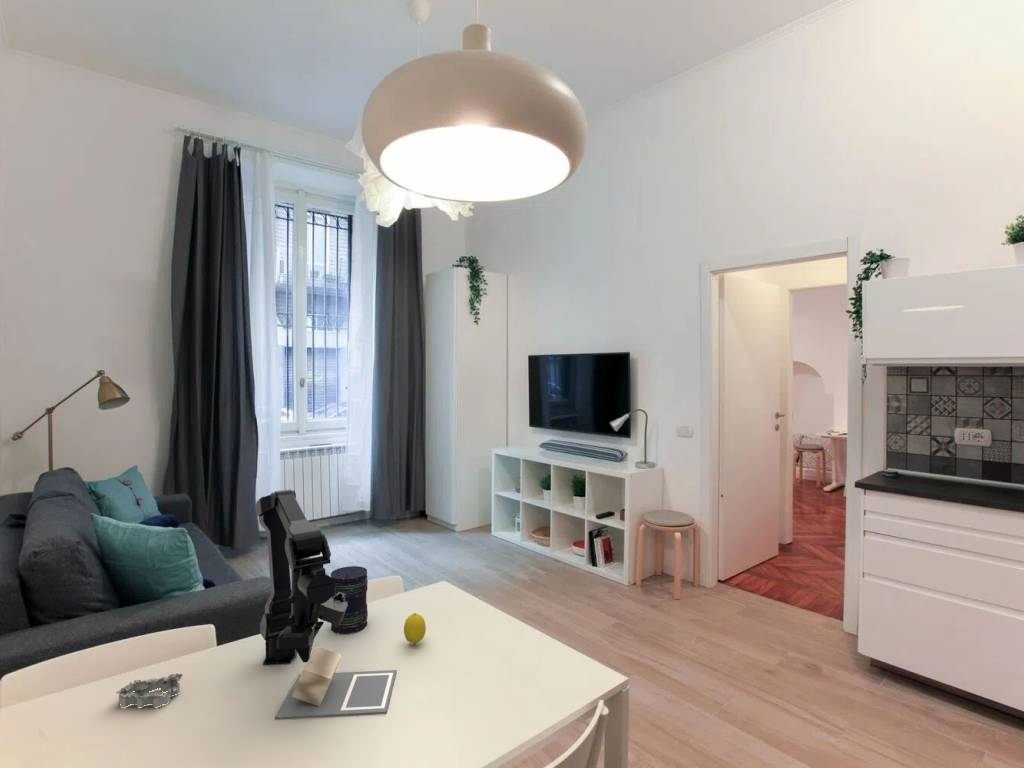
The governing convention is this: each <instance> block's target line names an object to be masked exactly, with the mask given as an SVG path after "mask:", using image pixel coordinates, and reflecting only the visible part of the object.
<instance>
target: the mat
mask: <svg viewBox="0 0 1024 768" xmlns="http://www.w3.org/2000/svg"><path fill="white" fill-rule="evenodd" d="M396 675H397V669H391V670H390V669H388V670H387V669H386V670H384V669H383V670H369V671H368V670H367V671H366V670H365V671H364V670H363V671H343V672H335V673H334V675H333V678H332V680H331V683H330V685H329V687H328V689H327V691H326V694H325V696H324V698H323V700H322V703H321V705H320V706H317V705H314V704H311V703H308V702H305V701H302V700H300V699H297V698H294V697H292V696H293V693H294V691H295V688H296V686H297V683H298V681H299V678H300V676H301V673H299V674H298V676H297V678H296V680H294V683H293V684H292V686H291V688H290V690H289V691H288V694H287V695H286V697H285V698H284V700H283V702H282V704H281V705H280V707H279V709H278V711H277V713H276V714H275V716H274V720H287V719H290V720H291V719H293V720H294V719H307V718H309V719H310V718H311V719H312V718H328V717H343V716H344V717H346V716H347V717H348V716H363V715H364V716H365V715H368V716H369V715H381V714H382V715H383V714H387V712H388V708H389V705H390V701H391V696H392V692H393V688H394V683H395V680H396Z"/></svg>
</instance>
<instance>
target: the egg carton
mask: <svg viewBox="0 0 1024 768" xmlns="http://www.w3.org/2000/svg"><path fill="white" fill-rule="evenodd" d="M182 678H183V674H182V673H171V674H168V677H167V676H162V677H161V678H159V677H158V678H154V677H153V678H150V679H144V680H141V679H134V681H133V682H132V681H130V682H129V683H128V684H126V685H125V686H124V687H121V689H119V690H118V691H115V693H116V694H117V695H118V705H119V704H121V706H120V705H119V706H120V708H121V707H126V706H128V705H130V704H137V706H136V708H137V707H143V706H144V705H147V704H153V705H152V707H158V706H160V705H162V704H167V703H168V702H170V703H171V698H170V696H172V695H175V694H178V693H179V692H180V693H181V691H180V690H181V689H180V687H181V686H180V683H179V682H180V680H181V679H182ZM157 688H158V689H159V688H161V690H162V691H163V692H166V691H168V692H166V693H162V692H161V694H159V695H154V694H153V693H149V691H152V690H155V689H157ZM161 690H160V691H161ZM133 691H135V692H133Z"/></svg>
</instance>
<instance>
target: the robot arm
mask: <svg viewBox="0 0 1024 768" xmlns="http://www.w3.org/2000/svg"><path fill="white" fill-rule="evenodd" d="M255 514H256V517H258V521H259V522H258V523H259V524H260V525H261V527H262V528H263V530H265V532H266V535H267V536H266V537H267V538H266V539H267V552H268V553H267V554H268V565H269V577H270V578H269V579H270V580H269V582H270V594H269V596H268V599H267V601H266V602H265V605H264V614H263V615H262V618H261V621H260V622H259V630H260V631H259V632H260V635H261V637H262V638H263V640H264V641H265V658H264V660H263V661H262V664H263V665H278V664H280V665H281V664H290V663H291V662H292V661H293V660H294V658H295V657H296V656H297V654H298V655H299V657H300V659H301V661H302V662H303V663H307V662H308V660H309V658H310V656H311V655H312V649H313V645H314V642H315V641H314V640H315V638H316V637H317V636H318V633H319V632H320V629H321V628H322V627H323V625H324V623H325V622H327V623H329V624H331V623H332V624H333V625H340V623H341V621H342V619H343V617H344V614H345V612H346V609H347V606H348V604H347V601H346V602H345V594H344V593H341V592H338V593H337V594H336V595H335V596H334V597H333V598H332V595H333V594H334V591H335V583H334V580H333V579H332V578H331V575H329V574H328V573H326V568H325V567H324V565H327V564H331V556H332V553H331V549H330V545H329V543H328V539H327V537H326V535H325V533H324V532H323V531H322V530H321V528H320V527H319V526H318V525H317V524H316V523H313V522H311V521H308V519H307V517H306V515H305V514H304V512H303V509H302V508H301V506H300V504H299V502H298V499H297V494H296V491H295V489H294V490H293V489H285V490H284V489H282V490H276V491H273V492H271V493H270V494H269V495H266V496H261V497H260V498H259V499H258V500H257V501H256V502H255ZM320 555H321V556H320ZM319 620H321V621H319ZM332 624H331V625H332Z"/></svg>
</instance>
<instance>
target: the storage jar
mask: <svg viewBox="0 0 1024 768" xmlns="http://www.w3.org/2000/svg"><path fill="white" fill-rule="evenodd" d="M330 577H331V578H332V579H333V580H334V583H335V591H334V594H333V595H332V598H333V597H334V596H335V595H336V594H337V593H338V592H341V593H344V594H345V602H346V601H347V604H348V606H347V609H346V612H345V614H344V617H343V619H342V621H341V623H340V625H333V624H332V623H330V625H331V626H330V630H331V632H332V631H333V632H332V633H334V632H335V634H337V633H339V634H338V635H351V633H352V634H356V633H359V632H361V631H364V630H365V629H366V628H367V627H368V615H369V612H368V611H369V609H368V604H367V592H368V569H367V568H365V567H364V566H359V565H358V566H357V565H355V566H353V565H351V566H349V565H348V566H343V567H339V568H335V570H333V571H331V572H330ZM366 626H367V627H366ZM365 627H366V628H365ZM364 628H365V629H364Z"/></svg>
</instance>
